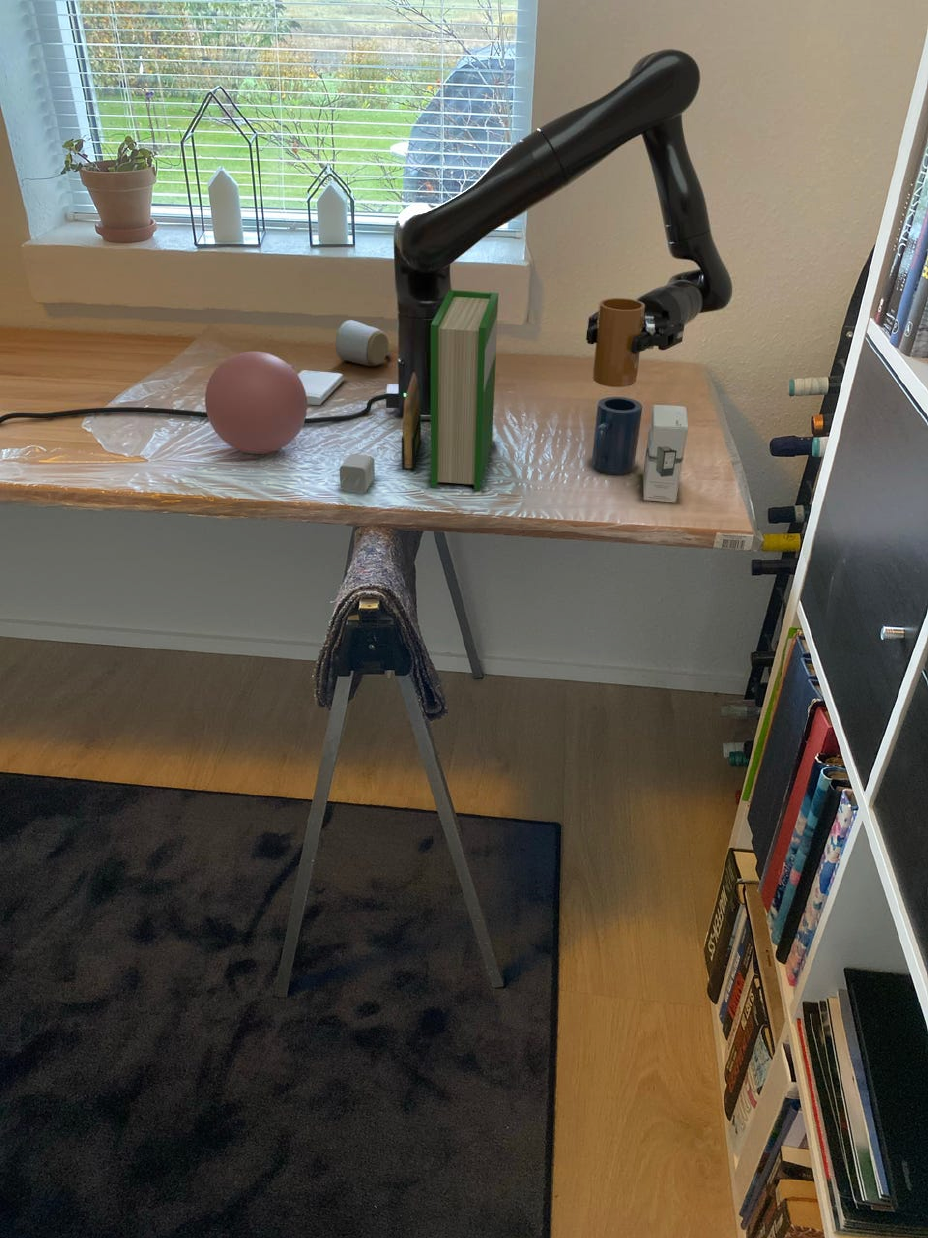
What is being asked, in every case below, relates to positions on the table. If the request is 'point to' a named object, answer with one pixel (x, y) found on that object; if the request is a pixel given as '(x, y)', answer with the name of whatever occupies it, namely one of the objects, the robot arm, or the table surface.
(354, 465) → the usb wall charger
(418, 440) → the ammunition clip
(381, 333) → the ceramic mug
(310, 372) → the hard drive
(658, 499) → the ink box
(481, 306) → the hardback book
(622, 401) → the mug
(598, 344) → the tumbler
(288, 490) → the table surface
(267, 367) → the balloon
